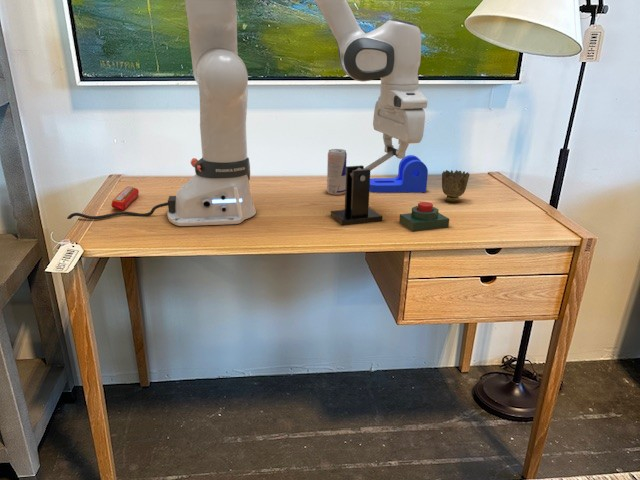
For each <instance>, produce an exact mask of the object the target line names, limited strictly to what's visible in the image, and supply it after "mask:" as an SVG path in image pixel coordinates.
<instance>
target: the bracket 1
mask: <svg viewBox="0 0 640 480" xmlns="http://www.w3.org/2000/svg"><path fill="white" fill-rule="evenodd" d="M357 168H361V169H362V170H356V169H357ZM364 168H365V167H364V165H361V164H360V165H348V166H347V165H346V186H345V193H344V209H339V210H330V217H331V218H332V219H333V220H335V221H336V222H337V223H339V224H340V225H341V226H350V225H358V224H369V223H376V222H383V215H382V214H380V213H378V212H377V211H375V210H374V209H372V208H371V207H369V206H370V205H369V204H370V192H369V189H370V179H371V171H370V169H364ZM351 172H352V178H351V175H350V173H351Z"/></svg>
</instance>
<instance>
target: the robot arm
mask: <svg viewBox="0 0 640 480" xmlns="http://www.w3.org/2000/svg"><path fill="white" fill-rule="evenodd" d="M312 1H313V2H314V3H315V4H316V6H317V7H318V9H319V10H320V12H321V14H322V16H323V18H324V19H325V22H326V24H327V26H328V27H329V30H330V31H331V33H332V35H333V37H334V39H335V42H336V44H337V51H338V60H339V61H338V62H339V64H340V68H341V69H342V71H343V72H344V74H346V75H347V76H348V77H350V78H352V79H353V80H354V81H357V82H362V83H363V82H364V83H365V82H369V81H373V80H378V79H380V88H379V89H380V90H379V96H378V98H377V100H376V102H375V105H374V109H373V110H374V111H373V118H372V127H373V130H374V131H376V132H379V133H380V134H381V133H382V140H383V145H384V153H386V154H387V153H389V152H388V148H389V147H393V148H395V147H394V144H393V138H394V139H396V140H398V141H397V142H398V148H397V149H398V150H396V156H395V157H396V158H397V159H400V160H402V159H403V158H405V157H406V151H407V149H408V148H409V145H410V144H419V143H421V141H422V140H423V137H424V131H425V124H426V123H425V121H426V112H425V110H424V109H426V108H427V107H428V98H427V97H426V96H425V95H424V94H423V93H422V92H421V90H420V89H419V83H420V82H419V74H418V73H419V69H420V65H421V59H422V58H421V57H422V33H421V29H420V28H419V26H418V25H417V24H416V23H414V22H411V21H408V20H402V19H397V18H391V19H388V20H387V21H386V22H385V23H383V24H382V25H380V26H379V27H377V28H375V29H373V30H371V31H369V32H365V31H364V30H363V29H362V27H360V25H359V23H358V21H357V19H356V17H355V15H354V13H353V10H352V9H351V7H350V4H349V2H348V1H347V0H312ZM184 5H185V10H186V17H187V26H188V37H189V46H190V47H189V48H190V56H191V65H192V66H191V67H192V73H193V77H194V81H195V83H196V84H197V86H198V91H199V92H198V93H199V133H200V143H201V144H200V145H201V156H202V157H201V158H200V159H197V158H195V157H193V158H192V159H191V160H190V165H191V166H192V167H193V168H194V173H195V174H194V175H193V176H192V177H190V179H189V180H187V181H186V182H185V183H184V184H183V185H182V186H180V187H179V188H178V190H177V191H176V195H169V196H168V199H167V202H163V203H159V204H157V205H154V206H153V207H152V208H151V210H150V211H149V212H146V213H145V212H144V213H139V212H133V211H117V212H112V213H111V212H110V213H107V214H103V215H102V214H101V215H87V214H84V213H81V212H72V213H71V214H69V215H68V216H67V217H66V219H67V220H71V219H72V218H74V217H81V218H83V219H86V220H87V219H88V220H101V219H102V220H103V219H107V218H113V217H117V216H125V215H126V216H135V217H149V216H151V215H153V214H154V212H155V211H156V210H158V209H159V208H162V207H163V208H164V207H168V208H167V209H168V210H167V214H166V216H167V219H168V221H169V223H171V224H173V225H175V226H178V227H194V226H197V227H198V226H220V225H222V226H223V225H240V224H241V223H242V222H244V221H245V220H247V219H251V218H252V217H254V216H255V215H256V214H257V210H256V207H255V204H254V201H253V196H252V191H251V183H250V181H251V163H250V158H249V157H248V146H247V144H248V143H247V113H248V92H249V91H248V90H249V89H248V87H249V86H248V85H249V83H248V82H249V74H248V69H247V67H246V64H245V62H244V61H243V59H242V58H241V57H240V56H239V51H238V11H237V10H238V9H237V2H236V0H184Z"/></svg>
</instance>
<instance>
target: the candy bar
mask: <svg viewBox="0 0 640 480" xmlns="http://www.w3.org/2000/svg"><path fill="white" fill-rule="evenodd" d="M139 191H140V190H139V189H138V188H136V187H133V186H126V187H125V188H124V189H123V190H122V191H121V192H120V193H119V194H117V195H116V196H115V197H114V198H113V199H112V201H111V208H113V209H116V210H120V211H125V210H126V209H127V208H128V207H129V206H130V205H131V204H132V202H134V201H135V200H136V199H137V198H138V196H139V194H140V192H139Z"/></svg>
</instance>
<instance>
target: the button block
mask: <svg viewBox="0 0 640 480" xmlns="http://www.w3.org/2000/svg"><path fill="white" fill-rule="evenodd" d="M439 211H440V210H439V208H437V207H435V206H433V211H432V212H421V211H418V205H414V206H412V207H411V211H410V212H409V213H400V214H399V219H398V220H399V221H398V223H399V224H400V225H402V226H404V227H405V228H406V229H408V230H410V231H411V232H421V231H428V230H437V229H447V228H449V226H450V218H449V217H447V216H445V215H444V214H442V213H441V212H439Z"/></svg>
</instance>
